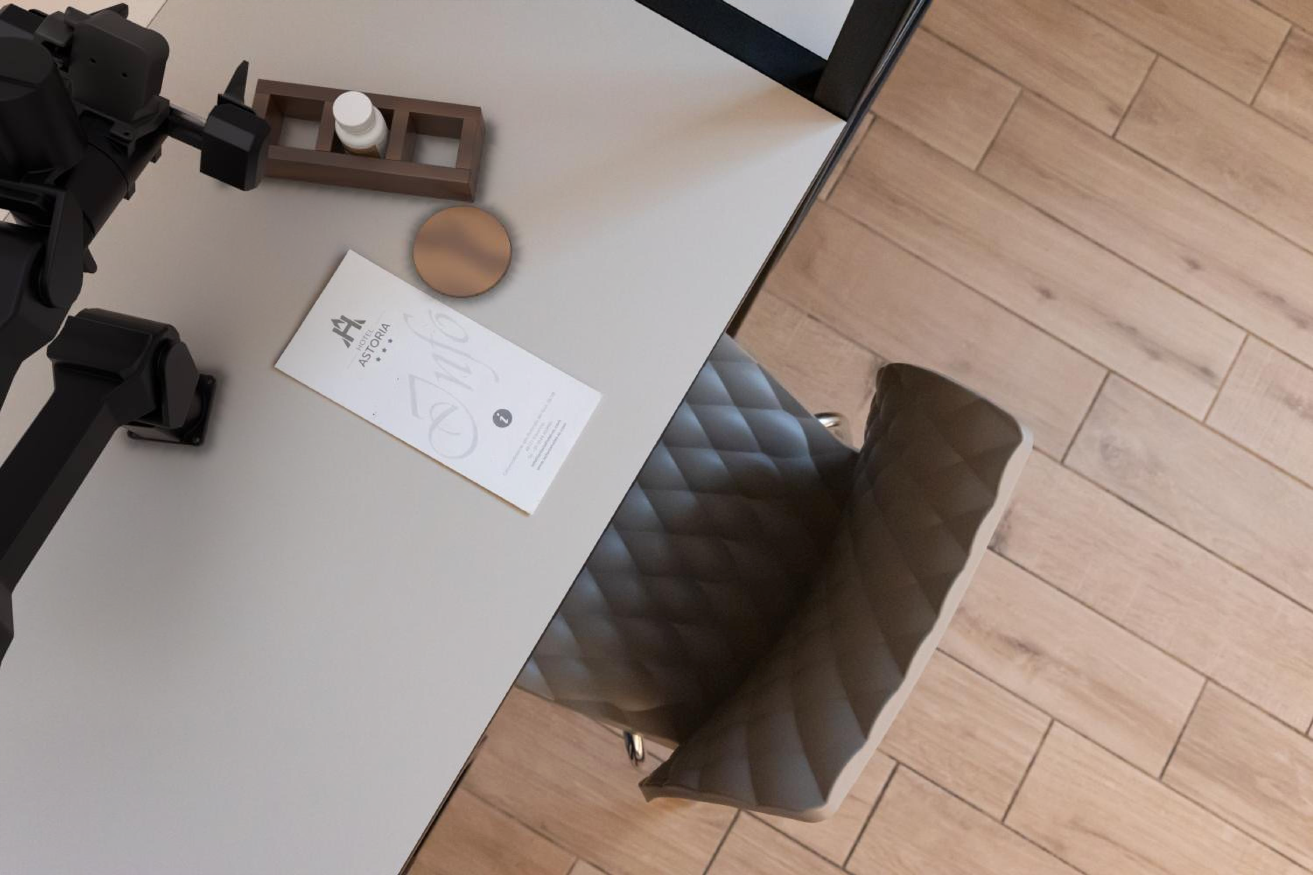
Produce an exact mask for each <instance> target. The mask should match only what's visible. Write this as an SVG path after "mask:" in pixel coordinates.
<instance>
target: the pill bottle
mask: <svg viewBox="0 0 1313 875" xmlns="http://www.w3.org/2000/svg"><path fill="white" fill-rule="evenodd" d="M356 91H357V90H351V91H350V92H346V93H343V94H342V95H340V96H339V97H338V98H337V99H336V100H335V102H334V105H333V114H334V117H335V119H336V122H335V128H336V132H337V135H338V137H339V139H340V141H341V143H342V145H343V147H344V149H345V154H349V155H357V156H365V157H373V158H381V159H385V158H386V152H387V147H388V142H389V136H390V130H388V128H387V125H386V123H385V120H384V118H383V116H382V114H381V113H380V111H379V110H378V109H377V108H376V107H374V106H373V105H372V103H371V101H370V99H369V98H368V97H367V96H366V95H364V94H363V93H360V92H361V91H359V92H356Z"/></svg>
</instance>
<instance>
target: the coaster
mask: <svg viewBox="0 0 1313 875" xmlns="http://www.w3.org/2000/svg"><path fill="white" fill-rule="evenodd" d="M511 247H512V246H511V242H510V238H509V235H508V233H507V231H506V229H505V228H504V225H502V223H501V222H500V221H499V220H498V219H497V218H496V217H495V216H493V215H492V214H491V213H489V212H487V211H485V210H483V209H480V208H477V207H472V206H464V205H463V206H452V207H449V208H445V209H443V210H441V211H439V212H437V213H435V214H433V215H431V217H430V218H428V219H427V220H426V221H425V222H424V223H423V225H422V226H421V227H420V228H419V230H418V232H417V234H416V237H415V240H414V243H413V250H412V251H413V261H414V264H415V265H414V266H415V267H416V270H417V272H418V274H419V276H420V278H421V279H422V280H423V282H425V284H427V285H428V286H429V287H430V288H431V289H433V290H434V291H435V292H438V293H440V294H442V295H445V296H448V297H453V298H470V297H475V296H478V295H481V294H483V293H486V292H488V291H489V290H491V289H492V288H494V287H495V286H496V285H497V284H499V282H500V281H501V280H502V279H503V277H504V276H505V274H506V272H507V270H508V268H509V266H510V262H511V257H512V249H511Z"/></svg>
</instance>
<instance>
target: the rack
mask: <svg viewBox="0 0 1313 875" xmlns="http://www.w3.org/2000/svg"><path fill="white" fill-rule="evenodd" d="M350 91H352V89H351V90H350V89H343V88H335V87H328V86H327V87H326V86H318V85H311V84H303V83H295V82H288V81H280V80H272V79H271V80H270V79H264V78H258V79H257V82H256V87H255V92H254V96H253V99H252V105H251V108H253V109H254V110H255V111H256V112H257V114H258V117H261V118H263V119H265V120H266V121H267V123H268V124H269V125H270V126H271V128H272V131H271V138H270V145H269V152H268V158H267V165H266V172H265V175H264V177H265V178H270V179H271V178H272V179H280V180H288V181H296V182H304V183H312V184H319V185H328V186H336V187H344V188H354V189H360V190H370V191H375V192H376V191H377V192H384V193H392V194H402V195H409V196H417V197H425V198H433V199H440V200H441V199H443V200H449V201H458V202H464V203H474V202H475V198H476V189H477V185H478V181H479V180H478V179H479V174H480V167H481V160H482V156H483V155H482V154H483V148H484V141H485V137H486V136H485V135H486V130H487V129H486V125H485V124H486V123H485V120H484V115H483V110H482V107H481V106H476V105H468V104H463V103H453V102H444V101H438V100H437V101H436V100H429V99H422V98H414V97H406V96H399V95H390V94H382V93H375V92H367V91H357V90H355V91H356V92H360V93H363V94H364V95H366V96H367V97H368V98H369V99H370V101H371V103H372V105H373V106H374V107H376V108H377V109H378V110H379V111H380V113H381V114H382V116H383V118H384V120H385V123H386V125H387V128H388V130H389V133H390V136H389V142H388V147H387V152H386V158H385V159H381V158H373V157H365V156H357V155H349V154H347V153H346V151H345V149H344V147H343V145H342V143H341V141H340V139H339V137H338V135H337V132H336V128H335V122H336V119H335V117H334V114H333V105H334V102H335V100H336V99H337V98H338V97H339V96H340V95H342V94H343V93H346V92H350ZM284 118H288V119H289V118H290V119H296V120H297V119H298V120H305V121H311V122H312V121H313V122H320V124H319V127H318V133H317V137H316V142H315V146H314V147H315V148H314V149H308V148H300V147H292V146H283V145H279V141H280V136H281V131H282V126H283V122H284ZM418 135H423V136H433V137H439V138H440V137H441V138H447V139H456V140H459V145H458V150H457V156H456V162H455V167H452V166H444V165H437V164H436V165H435V164H428V163H421V162H413V161H414V154H415V150H416V149H415V148H416V143H417V137H418ZM264 177H263V178H264Z"/></svg>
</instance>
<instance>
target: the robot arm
mask: <svg viewBox="0 0 1313 875" xmlns="http://www.w3.org/2000/svg"><path fill="white" fill-rule="evenodd" d="M129 8H130V7H129V5H128V4H126V3H125V2H120V3H117V4H113V5H111V6H108V7H105V8H101V9H99V10H97V11H93V12H90V13H86V12H84V11H81V10H80V9H77V8H75V7H73V6H71V5H69V6H67V7H66V8H65V11H64V12H63V11H60V10H57V11H54V12H52V13H50V14H49V13H46V12H44V11H42V10H40V9H37V8H29V9H28V10H27V9H25V8H23V7H20V6H18V5H16V4H14V3H8V4H5V5H3V6H2V7H1V8H0V209H1V210H4V211H8V212H9V213H10V215H11V216H12V218H13V220H14V222H15V223H14V222H9V221H5V220H1V219H0V412H1V411H2V408H3V407H4V404H5V401H6V399H7V396H8V394H9V391H10V388H11V386H12V383H13V382H14V379H15V377H16V375H17V373H18V371H19V369H20V367H21V365H22V364H23V362H25V361H26V360H27V359H28V358H30V357H31V356H33V355H34V354H36V353H37V352H38V351H40V350H41V349H42V348H44V347H45V346H46V345H47V346H46V352H45V353H46V354H45V355H46V357H47V359H48V360H49V361H50V362H51V369H52V370H51V371H52V381H53V382H52V383H53V391H52V393H51V395H50V396H49V398H48V399H47V400H46V402H45V403H44V405H43V406H42V407H41V409H40V410H39V411H38V413H37V415H36V416H35V418H33V420H32V422H31V423H30V424H29V426H28V427H27V429H26V430H25V431H24V433H23V435H21V437H20V439H19V440H18V441H17V443H16V444H15V445H14V447H13V448H12V450H11V451H10V452H9V454H8V455H7V456H6V458H5V460H3V462H2V464H1V465H0V668H1V666H2V664H3V660H4V658H5V656H6V654H7V652H8V650H9V648H10V646H11V644H12V642H13V640H14V639H15V638H14V637H15V624H14V610H13V609H14V608H13V593H14V591H15V589H16V587H17V585H18V584H19V582H20V580H21V579H22V578H23V576H24V575H25V573H26V571H27V570H28V568H29V567H30V565H31V563H32V562H33V560H34V559H35V558H36V556H37V554H38V552H39V551H40V549H41V548H42V546H43V545H44V543H45V542H46V540H47V538H48V537H49V536H50V534H51V532H52V530H53V529H54V528H55V526H56V524H57V523H58V522H59V520H60V518H61V517H62V516H63V513H64V512H65V511H66V509H67V507H68V506H69V504H70V503H71V501H72V500H73V498H74V497H75V495H76V494H77V492H78V490H79V488H80V487H81V486H82V484H83V482H84V481H85V480H86V478H87V477H88V475H89V473H90V471H91V470H92V469H93V467H94V465H95V464H96V462H97V461H98V459H99V458H100V456H101V455H102V453H103V451H104V450H105V448H106V447H107V446H108V444H109V442H110V441H111V439H112V437H114V434H115V433H116V431H117V430H118V429H119V428H121V427H122V428H124V429H126V430H127V432H126V435H127V437H128V438H129V439H131V440H135V441H142V442H143V441H144V442H153V443H160V444H169V445H178V446H187V447H195V448H199V447H201V446H203V445H204V443H205V437H206V434H207V433H206V432H207V428H208V424H209V421H210V420H209V419H210V414H211V410H212V407H213V406H212V404H213V400H214V395H215V391H216V387H217V378H216V377H215V376H213V375H211V374H205V373H200V371H199V370H198V367H197V366H196V363H195V361H194V359H193V356H192V355H191V352H190V349H189V348H188V345H187V344H186V342H184V341H182V340H181V335H180V333H179V331H178V330H177V328H176V327H175V326H173V325H172V324H170V323H166V322H162V321H158V320H152V319H148V318H144V317H140V316H136V315H130V314H127V313H121V312H117V311H114V310H109V309H104V308H99V307H91V308H87V307H85V308H83V309H81V310H80V311H78V312H77V313H76V314H75V315H70V314H68V313H69V312H70V310H71V308H72V306H73V304H74V303H75V302H76V301H77V300H78V298H79V296H80V294H81V291H82V288H83V283H84V273H85V274H91V275H93V274H96V272H97V271H98V264H97V262H96V260H95V257H94V256H93V254H92V252H91V250H90V248H89V246H90V245H91V244H92V242H93V240H94V239H95V237H96V236H97V235H98V234H99V232H100V231H101V230H102V228H103V227H104V225H105V224H106V223H107V221H108V220H109V218H110V217H111V216H112V214H113V213H114V212H115V210H116V209H117V207H118V206H119V204H120V203H121V202H122V200H123V199H124V200H126V201H130V200H131V199H132V197H133V196H134V194H135V193H136V181H137V180H138V179H139V177H140V176H141V174H142V172H144V170H145V169H146V167H147V166H148V165H149V163H153V164H157V163H158V161H159V159H160V158H161V157H162V154H163V152H162V150H163V149H162V148H163V144H164V143H165V141H166V140H167V138H168V137H170V138H172V139H174V140H176V141H179V142H182V143H184V144H185V145H188V146H190V147H193V148H195V149H196V150H199V151H200V158H199V159H200V160H199V173H201V174H203V175H206V176H207V177H210V178H212V179H215V180H217V181H219V182H221V183H223V184H225V185H228V186H231V187H233V188H235V189H237V190H240V191H242V192H249V191H252V190H255V189H257V188H258V187H259V185H260V183H261V182H262V180H263V178H264V175H265V172H266V165H267V158H268V152H269V145H270V138H271V131H272V128H271V126H270V125H269V124H268V123H267V121H266V120H265V119H263V118H261V117H258V114H257V112H256V111H255V110H254V109H253V108H252V106H248V105H247V104H246V102H245V94H246V87H247V80H248V75H249V68H250V67H249V66H250V62H249V61H248V60H246V59H243V60H242V61H241V63H240V64H238V65H237V67H236V68H235V70H234V72H233V74H232V76H231V79H230V80H229V82H228V84H227V86H226V88H225V89H224V92H223V93H221V92H219V93H218V94H217V100H216V104H215V105H214V106H213V107H212V108H211V110H210V112H208V115H207V118H205V117H202V116H200V115H198V114H196V113H194V112H191V111H189V110H187V109H184V108H183V107H180V106H178V105H176V104H174V103H171V100H170V99H169V98H166V97H165V96H162V95H161V92H162V87H163V82H164V77H165V73H166V72H165V71H166V68H167V63H168V60H169V57H170V45H169V42H168V40H167V38H165V36H163V34H161V33H159V32H158V31H156V30H154V29H152V28H147V27H145V26H142V25H141V24H139V23H136V22H135V21H132V20H130V19H128V17H129V15H130V14H129V11H130V10H129ZM64 321H65V322H64ZM63 323H64V324H63ZM62 325H63V326H62ZM61 327H62V328H61ZM60 329H61V330H60ZM210 380H211V382H209V381H210ZM133 433H134V435H133ZM197 440H198V442H196V441H197Z"/></svg>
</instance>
